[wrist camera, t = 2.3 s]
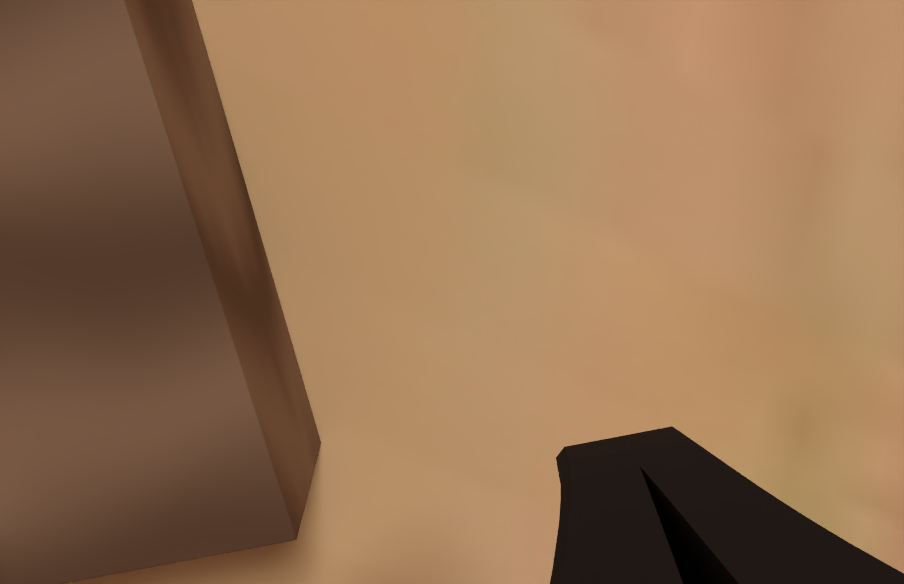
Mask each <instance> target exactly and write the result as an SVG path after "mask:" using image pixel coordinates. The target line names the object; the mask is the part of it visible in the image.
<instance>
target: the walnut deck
mask: <svg viewBox="0 0 904 584" xmlns="http://www.w3.org/2000/svg"><path fill="white" fill-rule="evenodd" d="M320 444H321V441H320V438H319V435H318V431H317V428H316V424H315V421H314V417H313V414H312V411H311V407H310V404H309V400H308V397H307V393H306V390H305V387H304V383H303V380H302V376H301V373H300V369H299V366H298V363H297V359H296V356H295V352H294V349H293V345H292V342H291V339H290V335H289V332H288V328H287V325H286V321H285V318H284V315H283V311H282V308H281V304H280V301H279V298H278V294H277V291H276V287H275V284H274V280H273V277H272V274H271V270H270V267H269V263H268V260H267V256H266V253H265V250H264V246H263V243H262V239H261V236H260V232H259V229H258V226H257V222H256V219H255V215H254V212H253V208H252V205H251V202H250V198H249V195H248V191H247V188H246V184H245V181H244V178H243V174H242V171H241V167H240V164H239V160H238V157H237V154H236V150H235V147H234V143H233V140H232V136H231V133H230V130H229V126H228V123H227V119H226V116H225V113H224V109H223V106H222V102H221V99H220V95H219V92H218V89H217V85H216V82H215V78H214V75H213V71H212V68H211V65H210V61H209V58H208V54H207V51H206V47H205V44H204V41H203V37H202V34H201V30H200V27H199V23H198V20H197V17H196V13H195V10H194V6H193V3H192V0H0V584H64V583H69V582H74V581H80V580H85V579H90V578H96V577H101V576H106V575H112V574H117V573H122V572H128V571H133V570H138V569H143V568H149V567H154V566H159V565H165V564H170V563H175V562H181V561H186V560H191V559H197V558H202V557H207V556H213V555H218V554H223V553H228V552H234V551H239V550H244V549H250V548H255V547H260V546H266V545H271V544H276V543H282V542H287V541H292V540H296V539H297V535H298V531H299V527H300V523H301V519H302V515H303V512H304V508H305V504H306V500H307V496H308V492H309V488H310V484H311V480H312V476H313V472H314V468H315V464H316V460H317V456H318V452H319V448H320Z"/></svg>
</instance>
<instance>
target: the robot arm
mask: <svg viewBox="0 0 904 584" xmlns="http://www.w3.org/2000/svg"><path fill="white" fill-rule="evenodd" d="M556 460H557V466H558V472H559V477H560V483H561V504H560V520H559V528H558V536H557V543H556V550H555V557H554V564H553V570H552V576H551V581H550V584H904V574H903V573H902V572H900V571H898V570H896V569H894V568H893V567H891V566H889V565H887V564H885V563H884V562H882V561H880V560H878V559H877V558H875V557H873V556H871V555H869V554H868V553H866V552H864V551H862V550H861V549H859V548H857V547H855V546H853V545H852V544H850V543H848V542H847V541H845V540H843V539H842V538H840V537H838V536H837V535H835V534H833V533H832V532H830V531H828V530H827V529H825V528H823V527H822V526H820V525H818V524H817V523H815V522H813V521H812V520H810V519H809V518H807V517H805V516H804V515H802V514H801V513H799V512H797V511H796V510H794V509H793V508H791V507H790V506H788V505H786V504H785V503H783V502H782V501H780V500H779V499H777V498H775V497H774V496H772V495H771V494H769V493H768V492H766V491H765V490H763V489H762V488H760V487H759V486H757V485H756V484H755V483H753V482H752V481H750V480H749V479H747V478H746V477H744V476H743V475H741V474H740V473H738V472H737V471H736V470H734V469H733V468H731V467H730V466H728V465H727V464H725V463H724V462H723V461H721V460H720V459H718V458H717V457H715V456H714V455H713V454H711V453H710V452H708V451H707V450H705V449H704V448H703V447H701V446H700V445H698V444H697V443H695V442H694V441H692V440H691V439H690V438H688V437H687V436H685V435H684V434H682V433H681V432H679V431H678V430H676V429H675V428H674V427H667V428H662V429H657V430H651V431H646V432H641V433H636V434H630V435H625V436H620V437H615V438H609V439H604V440H599V441H593V442H588V443H583V444H578V445H572V446H567V447H564V448H563V450H562V451H561V452H560V453H559V455H558V456H557V457H556Z"/></svg>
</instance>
